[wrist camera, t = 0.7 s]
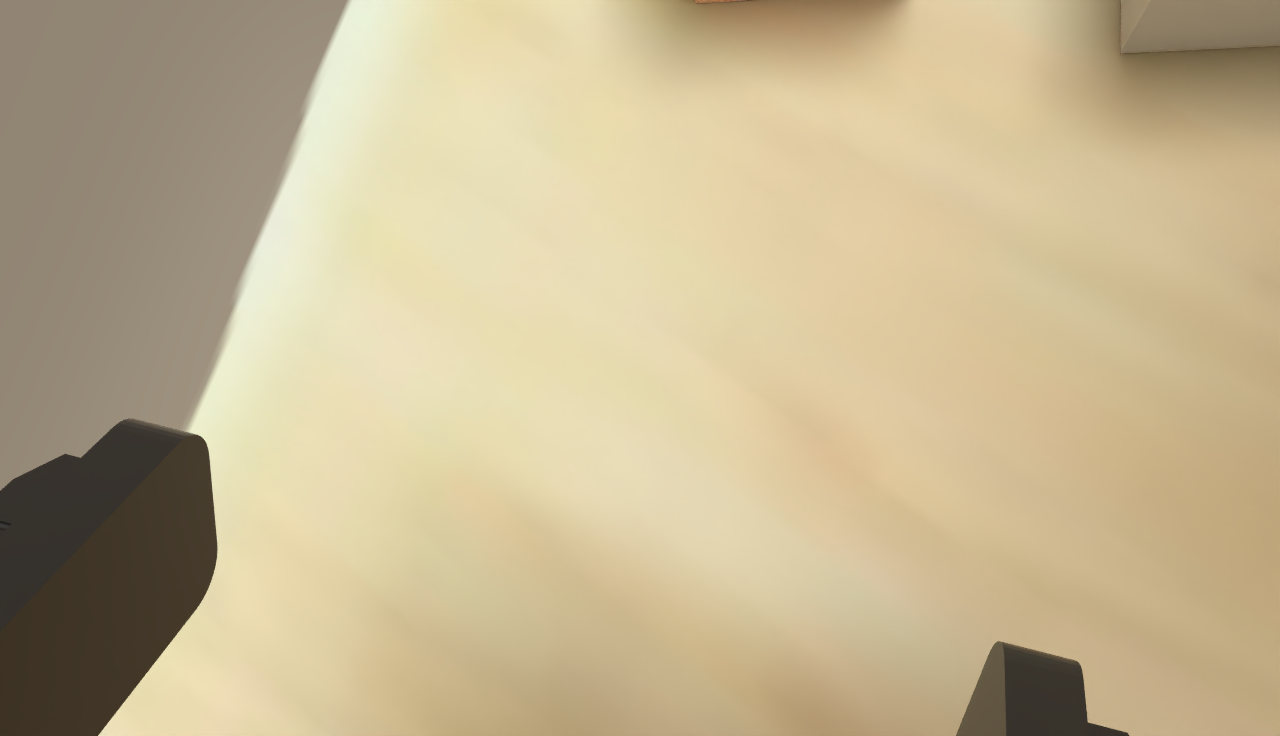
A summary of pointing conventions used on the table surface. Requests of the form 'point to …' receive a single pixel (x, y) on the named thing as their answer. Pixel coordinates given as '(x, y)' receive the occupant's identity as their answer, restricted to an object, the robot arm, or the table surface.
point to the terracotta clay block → (711, 0)
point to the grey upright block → (1198, 24)
